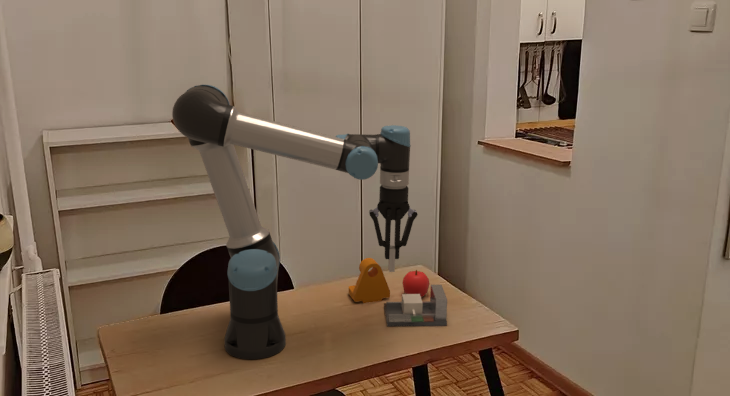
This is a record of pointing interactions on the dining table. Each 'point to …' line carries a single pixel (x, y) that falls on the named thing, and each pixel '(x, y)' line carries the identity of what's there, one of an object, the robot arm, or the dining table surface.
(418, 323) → the gauge base
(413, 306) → the cream block with peg
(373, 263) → the bracket
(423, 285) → the apple
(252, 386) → the dining table surface
